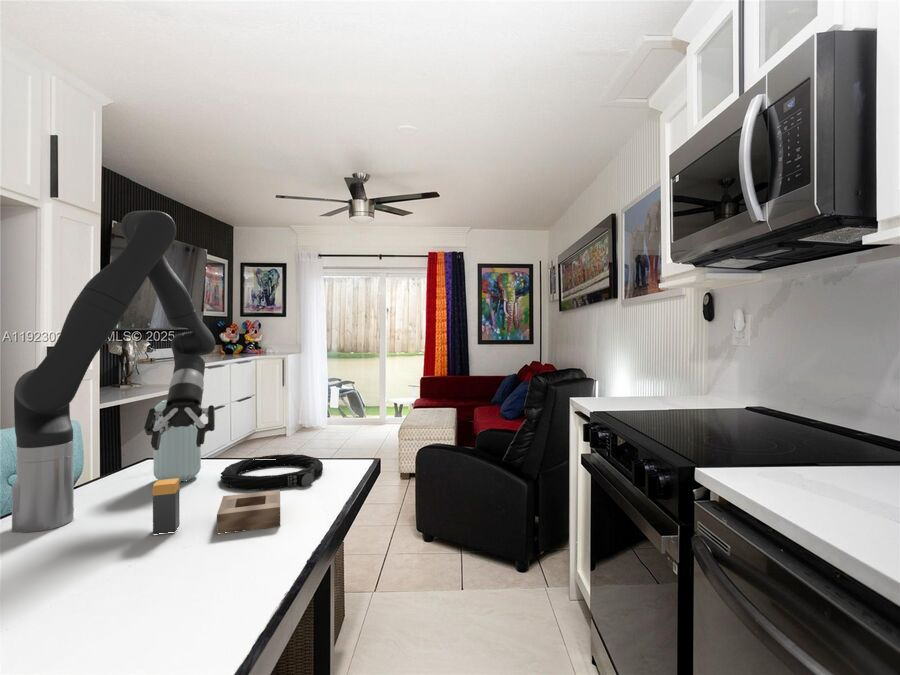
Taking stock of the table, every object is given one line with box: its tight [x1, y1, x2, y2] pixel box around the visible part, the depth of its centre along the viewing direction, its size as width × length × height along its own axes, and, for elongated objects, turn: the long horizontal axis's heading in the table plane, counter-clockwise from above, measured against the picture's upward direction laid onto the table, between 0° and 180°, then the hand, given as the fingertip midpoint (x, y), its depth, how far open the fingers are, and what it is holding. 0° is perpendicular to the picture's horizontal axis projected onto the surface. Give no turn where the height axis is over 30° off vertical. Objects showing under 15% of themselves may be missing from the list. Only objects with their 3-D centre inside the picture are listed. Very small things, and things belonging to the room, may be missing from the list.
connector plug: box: [152, 478, 181, 535], centre depth 98 cm, size 4×4×10 cm
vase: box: [152, 399, 202, 483], centre depth 133 cm, size 12×12×22 cm
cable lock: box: [220, 453, 324, 490], centre depth 136 cm, size 28×4×30 cm
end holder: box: [216, 489, 281, 534], centre depth 103 cm, size 12×12×4 cm
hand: (177, 446), depth 108 cm, fingers open, 8 cm apart
